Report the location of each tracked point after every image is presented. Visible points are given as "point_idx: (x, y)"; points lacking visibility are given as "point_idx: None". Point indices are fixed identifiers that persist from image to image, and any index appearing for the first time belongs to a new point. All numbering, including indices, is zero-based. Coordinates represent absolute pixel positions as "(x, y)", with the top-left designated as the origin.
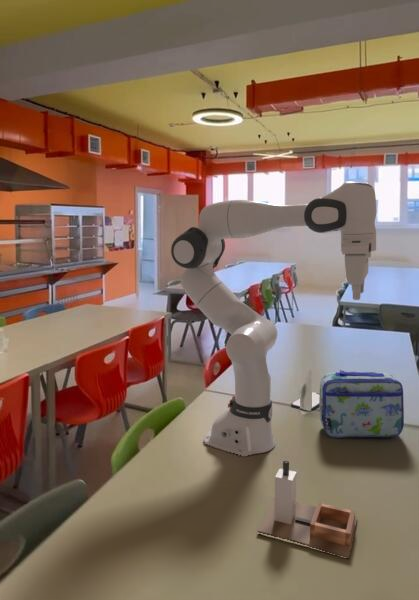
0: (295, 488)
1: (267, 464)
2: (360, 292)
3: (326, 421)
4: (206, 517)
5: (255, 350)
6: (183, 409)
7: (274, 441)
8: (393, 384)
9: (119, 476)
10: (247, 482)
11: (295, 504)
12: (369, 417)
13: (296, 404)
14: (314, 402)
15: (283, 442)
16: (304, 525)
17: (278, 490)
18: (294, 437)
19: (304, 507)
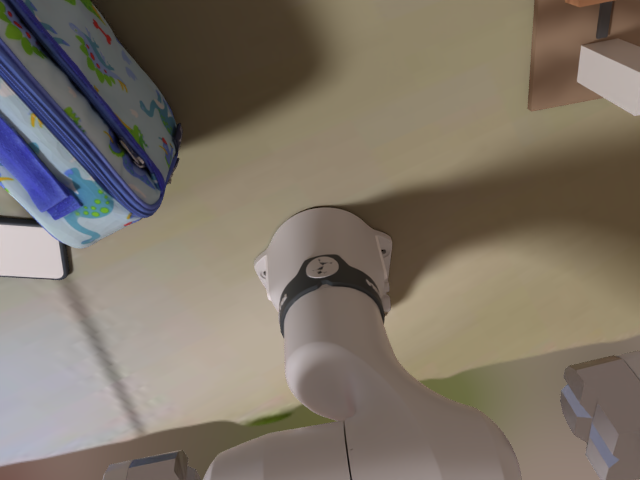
0: (625, 61)
1: (395, 184)
2: (186, 469)
3: (179, 145)
4: (618, 185)
5: (494, 437)
6: (265, 418)
7: (302, 217)
8: None
9: (546, 351)
10: (482, 183)
11: (597, 51)
12: (88, 28)
13: (57, 266)
14: (2, 235)
15: (277, 201)
16: (613, 11)
17: None
18: (235, 192)
19: (549, 38)
